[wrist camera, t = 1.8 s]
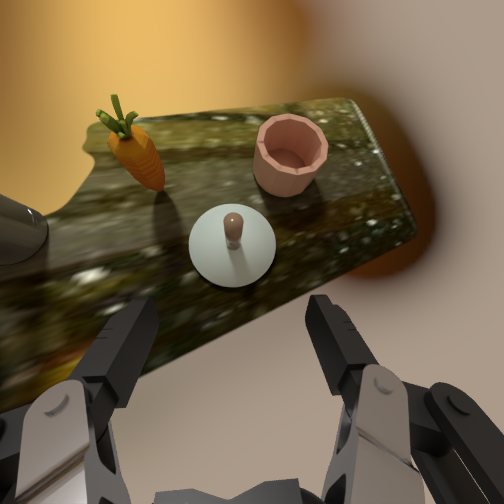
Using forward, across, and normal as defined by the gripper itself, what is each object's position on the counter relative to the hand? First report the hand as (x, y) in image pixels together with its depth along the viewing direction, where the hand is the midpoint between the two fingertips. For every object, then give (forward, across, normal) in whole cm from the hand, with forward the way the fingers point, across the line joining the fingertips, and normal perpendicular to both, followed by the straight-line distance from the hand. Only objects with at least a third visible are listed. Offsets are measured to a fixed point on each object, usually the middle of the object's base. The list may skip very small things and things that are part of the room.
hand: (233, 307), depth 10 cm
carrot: (+28, +13, 0) cm, 31 cm away
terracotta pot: (+31, -9, -3) cm, 33 cm away
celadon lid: (+21, 0, +8) cm, 23 cm away
